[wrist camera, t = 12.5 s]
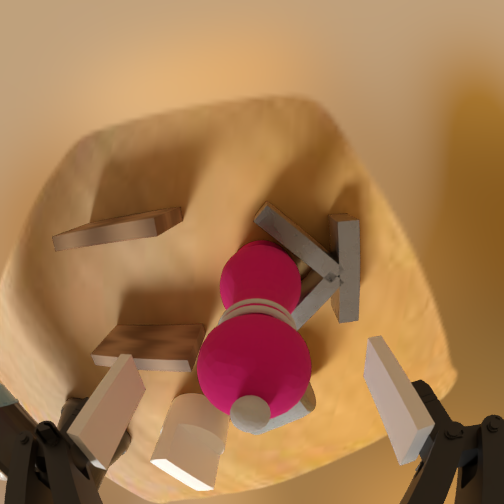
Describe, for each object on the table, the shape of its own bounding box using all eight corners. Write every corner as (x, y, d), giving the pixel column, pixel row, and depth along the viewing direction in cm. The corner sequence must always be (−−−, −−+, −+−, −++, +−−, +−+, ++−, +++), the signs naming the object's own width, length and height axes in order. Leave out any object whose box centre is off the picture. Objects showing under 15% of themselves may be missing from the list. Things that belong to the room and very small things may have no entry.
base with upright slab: (242, 421, 36) (234, 486, 24) (197, 434, 38) (182, 492, 26) (203, 385, 34) (182, 454, 23) (159, 402, 36) (133, 461, 24)
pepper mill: (230, 230, 28) (156, 349, 9) (301, 239, 28) (361, 372, 9) (224, 296, 30) (170, 453, 11) (290, 304, 30) (311, 469, 11)
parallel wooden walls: (120, 334, 33) (95, 365, 26) (89, 223, 29) (52, 236, 22) (205, 334, 32) (191, 371, 25) (180, 206, 28) (153, 217, 21)
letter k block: (268, 327, 31) (268, 347, 27) (254, 202, 27) (251, 206, 23) (348, 318, 30) (357, 336, 26) (345, 193, 26) (357, 197, 22)
